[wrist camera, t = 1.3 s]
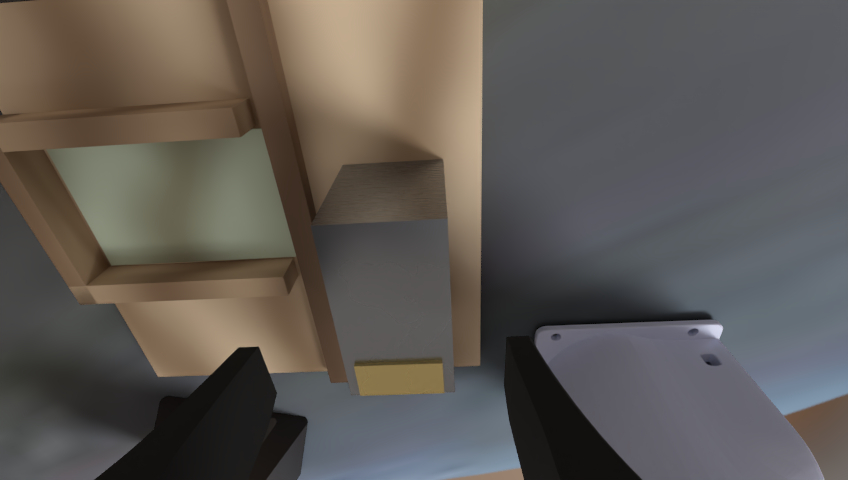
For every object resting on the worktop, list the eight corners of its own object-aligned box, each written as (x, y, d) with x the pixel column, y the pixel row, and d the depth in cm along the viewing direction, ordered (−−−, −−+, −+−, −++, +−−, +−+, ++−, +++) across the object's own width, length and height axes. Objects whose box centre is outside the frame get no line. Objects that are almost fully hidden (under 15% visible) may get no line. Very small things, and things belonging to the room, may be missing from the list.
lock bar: (342, 164, 16) (309, 228, 12) (443, 158, 16) (447, 220, 11) (368, 309, 20) (350, 398, 15) (449, 306, 20) (454, 395, 15)
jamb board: (479, -35, 13) (488, -40, 11) (478, 351, 23) (483, 388, 21) (-31, 7, 14) (-112, 9, 12) (168, 363, 24) (141, 399, 21)
